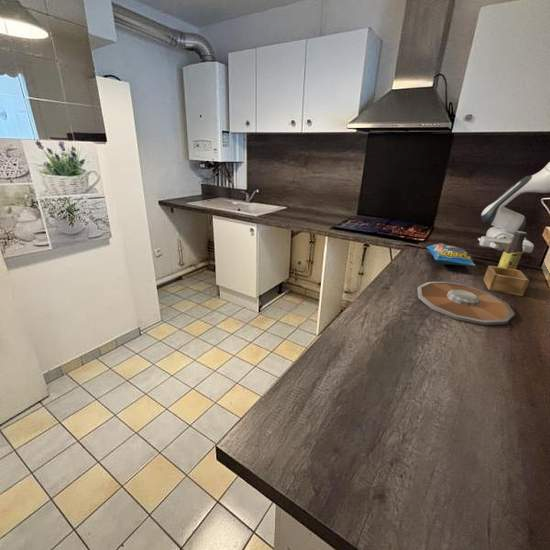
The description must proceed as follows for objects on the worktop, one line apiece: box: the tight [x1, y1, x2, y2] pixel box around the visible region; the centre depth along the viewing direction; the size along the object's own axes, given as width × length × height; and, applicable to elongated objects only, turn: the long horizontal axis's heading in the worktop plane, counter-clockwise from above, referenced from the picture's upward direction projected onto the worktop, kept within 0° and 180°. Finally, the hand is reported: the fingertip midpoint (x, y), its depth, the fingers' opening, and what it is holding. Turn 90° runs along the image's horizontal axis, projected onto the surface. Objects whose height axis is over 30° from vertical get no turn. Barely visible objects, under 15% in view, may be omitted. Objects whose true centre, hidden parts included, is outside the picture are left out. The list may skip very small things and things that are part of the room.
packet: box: [426, 242, 476, 267], centre depth 139 cm, size 17×24×8 cm
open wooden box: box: [483, 265, 530, 297], centre depth 116 cm, size 11×11×7 cm
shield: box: [416, 281, 516, 327], centre depth 103 cm, size 30×3×30 cm
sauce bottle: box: [497, 231, 528, 270], centre depth 125 cm, size 7×6×20 cm
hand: (509, 248), depth 129 cm, fingers open, 8 cm apart
